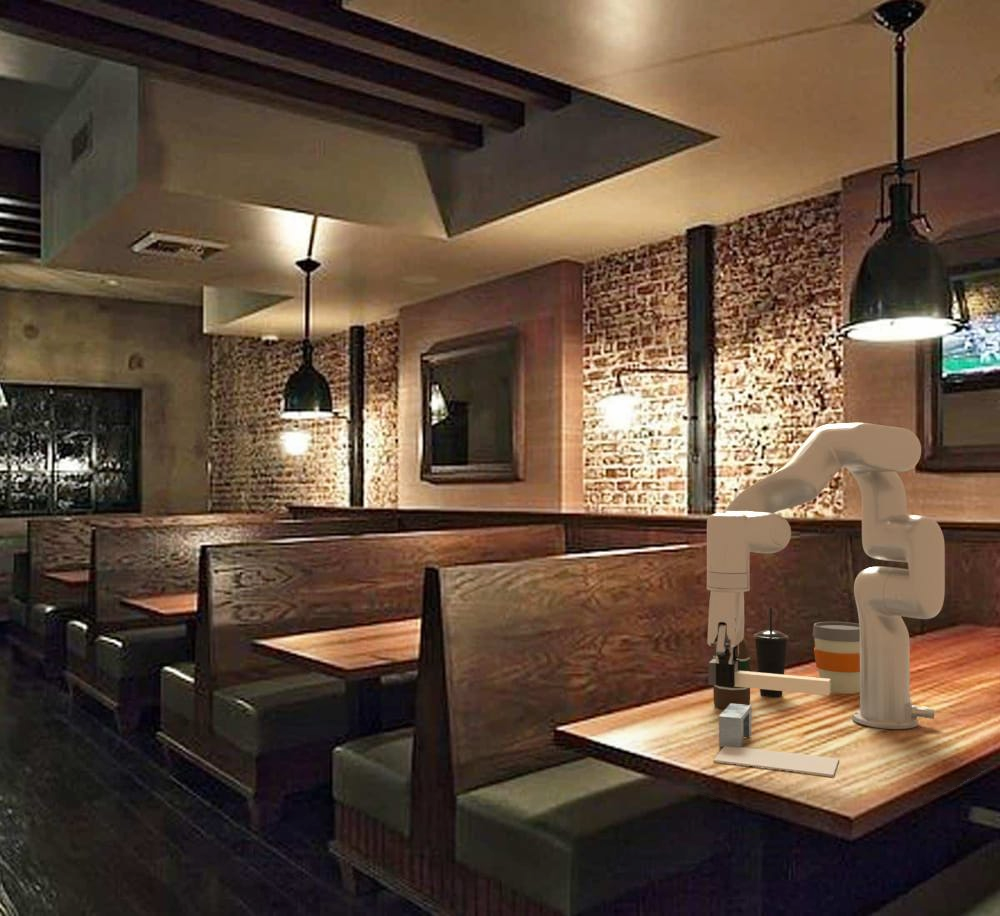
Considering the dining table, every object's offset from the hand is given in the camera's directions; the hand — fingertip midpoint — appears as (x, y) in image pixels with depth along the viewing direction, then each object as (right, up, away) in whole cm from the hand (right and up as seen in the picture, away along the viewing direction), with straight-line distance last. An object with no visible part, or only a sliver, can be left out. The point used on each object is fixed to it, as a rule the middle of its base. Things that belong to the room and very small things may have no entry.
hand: (727, 682), depth 173 cm
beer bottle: (+10, -14, +36) cm, 40 cm away
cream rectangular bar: (+7, 0, -3) cm, 7 cm away
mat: (+8, -13, -4) cm, 16 cm away
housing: (+4, -13, +9) cm, 17 cm away
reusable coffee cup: (+39, -14, +53) cm, 68 cm away
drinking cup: (+21, -14, +47) cm, 54 cm away
